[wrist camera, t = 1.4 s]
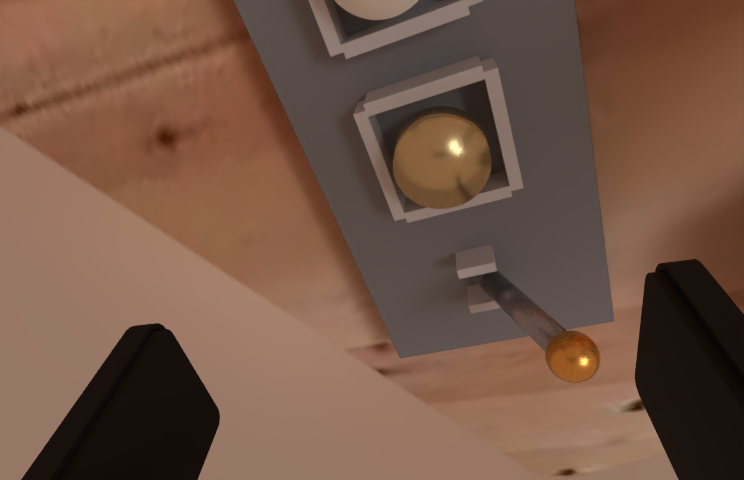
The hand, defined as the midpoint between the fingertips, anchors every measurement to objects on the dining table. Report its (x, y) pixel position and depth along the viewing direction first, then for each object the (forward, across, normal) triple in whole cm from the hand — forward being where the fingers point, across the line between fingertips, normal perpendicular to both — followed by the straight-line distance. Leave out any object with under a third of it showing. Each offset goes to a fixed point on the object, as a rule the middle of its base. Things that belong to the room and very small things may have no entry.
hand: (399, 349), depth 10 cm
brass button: (+18, -1, +4) cm, 18 cm away
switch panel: (+23, -1, +4) cm, 23 cm away
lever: (+20, -2, +14) cm, 24 cm away
